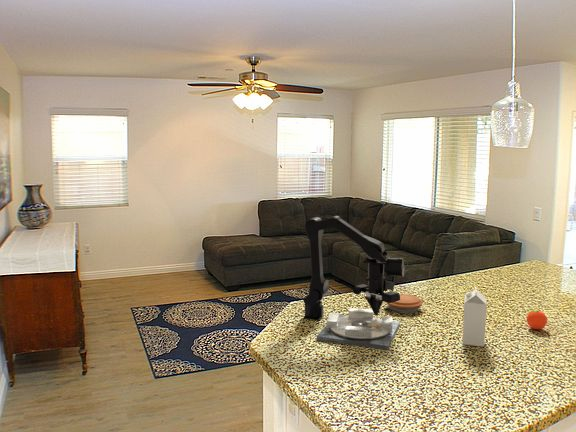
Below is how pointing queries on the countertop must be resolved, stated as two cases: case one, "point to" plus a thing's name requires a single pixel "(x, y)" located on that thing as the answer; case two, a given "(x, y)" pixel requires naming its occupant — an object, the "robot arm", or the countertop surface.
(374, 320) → the slotted metal disc
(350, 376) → the countertop surface
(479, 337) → the milk carton
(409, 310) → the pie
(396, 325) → the base plate
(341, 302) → the countertop surface
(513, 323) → the countertop surface
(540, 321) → the tomato
